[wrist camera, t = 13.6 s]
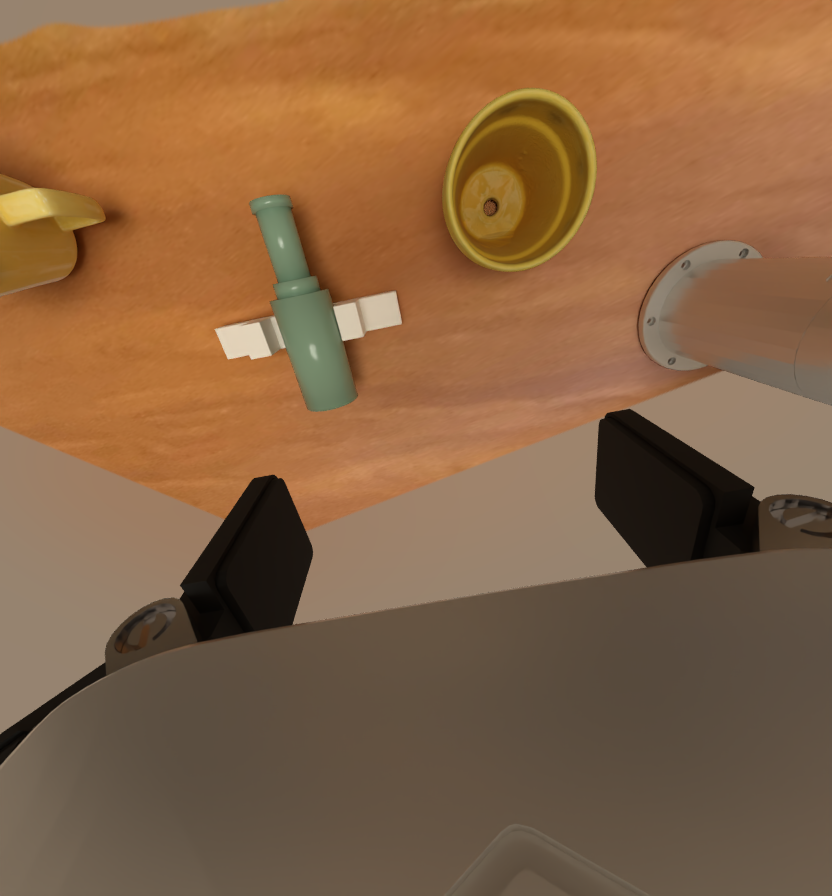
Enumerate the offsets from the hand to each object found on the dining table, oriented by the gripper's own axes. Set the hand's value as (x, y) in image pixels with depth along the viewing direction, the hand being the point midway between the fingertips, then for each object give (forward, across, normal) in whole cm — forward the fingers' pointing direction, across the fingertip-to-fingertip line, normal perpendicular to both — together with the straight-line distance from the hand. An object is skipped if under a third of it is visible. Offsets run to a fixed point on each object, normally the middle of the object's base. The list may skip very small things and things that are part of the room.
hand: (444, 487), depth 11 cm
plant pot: (+31, -9, -9) cm, 33 cm away
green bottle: (+26, +9, +5) cm, 28 cm away
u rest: (+30, +10, -2) cm, 32 cm away
